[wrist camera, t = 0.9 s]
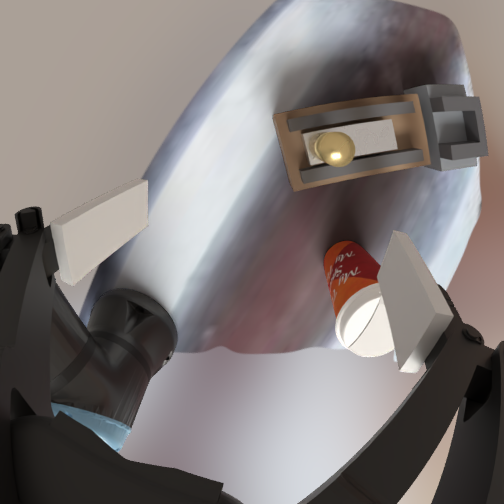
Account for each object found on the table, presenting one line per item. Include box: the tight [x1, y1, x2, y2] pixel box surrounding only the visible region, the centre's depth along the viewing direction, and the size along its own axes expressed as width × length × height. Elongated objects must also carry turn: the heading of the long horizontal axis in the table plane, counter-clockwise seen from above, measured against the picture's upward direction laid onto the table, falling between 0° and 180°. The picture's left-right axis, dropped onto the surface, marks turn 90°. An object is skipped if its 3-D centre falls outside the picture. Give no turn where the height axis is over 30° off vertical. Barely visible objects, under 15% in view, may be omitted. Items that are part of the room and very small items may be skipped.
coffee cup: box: [324, 241, 395, 357], centre depth 31 cm, size 8×8×15 cm
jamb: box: [403, 84, 488, 171], centre depth 26 cm, size 6×10×9 cm, turn 15°
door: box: [273, 94, 431, 191], centre depth 28 cm, size 16×8×8 cm, turn 105°
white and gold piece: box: [301, 119, 398, 167], centre depth 22 cm, size 9×3×8 cm, turn 105°
